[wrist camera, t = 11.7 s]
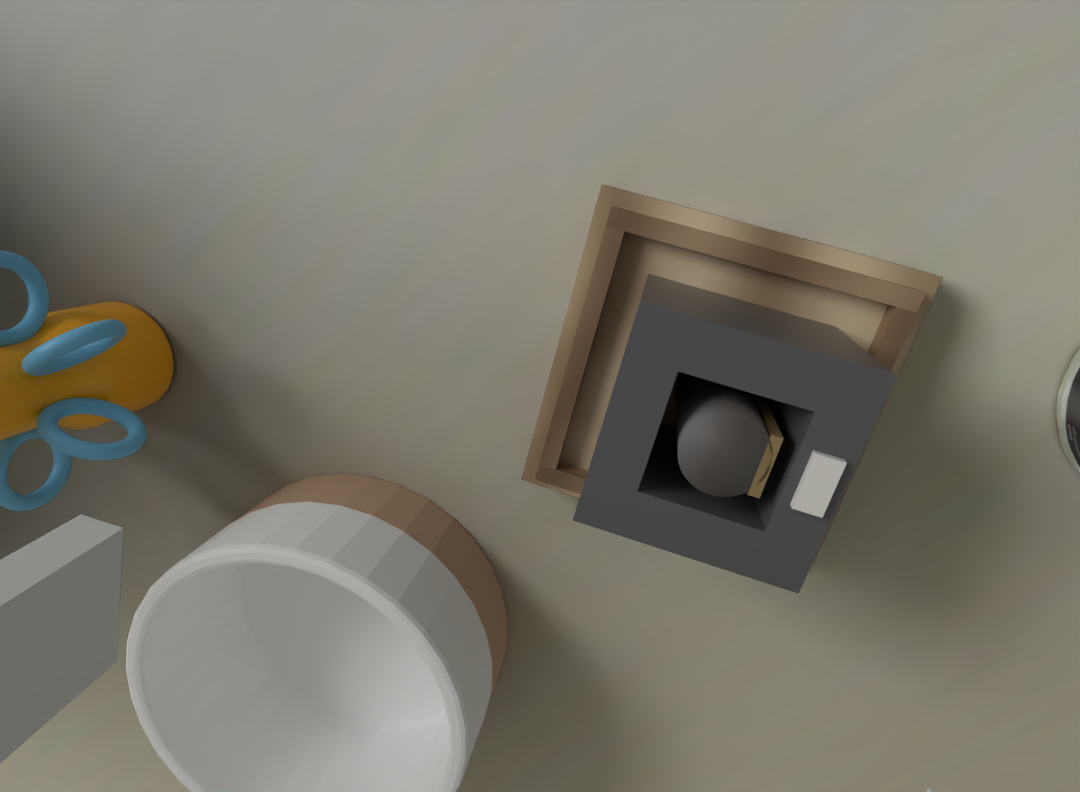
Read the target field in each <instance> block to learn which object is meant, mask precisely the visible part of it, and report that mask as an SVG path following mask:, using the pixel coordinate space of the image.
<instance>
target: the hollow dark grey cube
mask: <svg viewBox="0 0 1080 792" xmlns="http://www.w3.org/2000/svg"><path fill="white" fill-rule="evenodd" d="M678 372H682V373H685V374H688V375H692V376H695V377H699V378H702V379H705V380H709V381H712V382H715V383H719V384H722V385H726V386H729V387H732V388H736V389H739V390H742V391H746V392H749V393H753V394H756V395H759V396H763V397H765V399H766V401H767V404H768V406H769V408H770V410H771V412H772V414H773V416H774V419H775V421H776V423H777V425H778V427H779V429H780V432H781V434H782V436H783V438H784V439H783V442H782V444H781V447H780V449H779V452H778V454H777V457H776V459H775V462H774V464H773V467H772V469H771V471H770V474H769V476H768V479H767V481H766V484H765V486H764V489H763V491H762V494H761V496H760V499H759V498H756V497H753V496H750V495H747V492H746V493H744V494H741V495H737V496H732V497H718V496H713V495H709V494H706V493H704V492H702V491H700V490H698V489H697V488H695V487H694V486H693V485H692V484H691V483H689V481H688V480H687V479H686V478H685V476H684V475H683V473H682V471H681V469H680V466H679V462H678V447H677V427H674V426H671V425H667V424H664V423H661V420H662V417H663V414H664V411H665V408H666V405H667V403H668V400H669V397H670V394H671V391H672V388H673V385H674V382H675V379H676V376H677V373H678ZM896 376H897V375H896V374H895V373H893V372H892V371H891V370H890V369H888V368H887V367H886V366H885V365H883V364H882V363H881V362H879V361H878V360H877V359H876V358H874V357H873V356H872V355H871V354H869V353H868V352H867V351H866V350H864V349H863V348H862V347H861V346H859V345H858V344H857V343H856V342H854V341H853V340H852V339H851V338H849V337H848V336H847V335H846V334H844V333H843V332H842V331H841V330H839V329H838V328H837V327H835V326H832V325H828V324H825V323H821V322H818V321H814V320H811V319H807V318H803V317H800V316H796V315H793V314H789V313H786V312H782V311H779V310H775V309H772V308H768V307H765V306H761V305H758V304H754V303H750V302H747V301H743V300H740V299H736V298H733V297H729V296H726V295H722V294H719V293H715V292H712V291H708V290H705V289H701V288H697V287H694V286H690V285H687V284H683V283H680V282H676V281H673V280H669V279H666V278H662V277H659V276H655V275H652V274H648V277H647V280H646V283H645V286H644V290H643V293H642V296H641V299H640V303H639V306H638V309H637V312H636V316H635V319H634V322H633V325H632V329H631V332H630V335H629V339H628V342H627V345H626V348H625V352H624V355H623V358H622V361H621V365H620V368H619V371H618V374H617V378H616V381H615V384H614V387H613V391H612V394H611V397H610V400H609V404H608V407H607V410H606V413H605V417H604V420H603V423H602V426H601V430H600V433H599V436H598V439H597V443H596V446H595V449H594V453H593V456H592V459H591V462H590V466H589V469H588V472H587V476H586V479H585V482H584V485H583V489H582V492H581V495H580V499H579V502H578V505H577V508H576V512H575V515H574V518H573V520H574V521H577V522H580V523H583V524H586V525H589V526H592V527H595V528H599V529H602V530H605V531H608V532H611V533H614V534H617V535H620V536H623V537H626V538H629V539H632V540H635V541H639V542H642V543H645V544H648V545H651V546H654V547H657V548H660V549H663V550H666V551H669V552H672V553H676V554H679V555H682V556H685V557H688V558H691V559H694V560H697V561H700V562H703V563H706V564H709V565H712V566H716V567H719V568H722V569H725V570H728V571H731V572H734V573H737V574H740V575H743V576H746V577H749V578H753V579H756V580H759V581H762V582H765V583H768V584H771V585H774V586H777V587H780V588H783V589H786V590H790V591H793V592H796V593H799V591H800V589H801V587H802V584H803V582H804V580H805V578H806V576H807V573H808V571H809V569H810V567H811V564H812V562H813V560H814V558H815V556H816V553H817V551H818V549H819V547H820V545H821V542H822V540H823V538H824V536H825V533H826V531H827V529H828V527H829V525H830V522H831V520H832V518H833V516H834V514H835V511H836V509H837V507H838V505H839V503H840V500H841V498H842V496H843V494H844V491H845V489H846V487H847V485H848V483H849V480H850V478H851V476H852V474H853V472H854V469H855V467H856V465H857V463H858V460H859V458H860V456H861V454H862V452H863V449H864V447H865V445H866V443H867V441H868V438H869V436H870V434H871V432H872V430H873V427H874V425H875V423H876V421H877V418H878V416H879V414H880V412H881V410H882V407H883V405H884V403H885V401H886V399H887V396H888V394H889V392H890V390H891V387H892V385H893V383H894V381H895V379H896Z"/></svg>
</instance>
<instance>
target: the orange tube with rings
mask: <svg viewBox="0 0 1080 792" xmlns="http://www.w3.org/2000/svg"><path fill="white" fill-rule="evenodd" d="M0 268H5V269H9V270H12V271H13V272H15V273H16V274H18V275H19V276H20V277H21V279H22V280H23V281H24V283H25V285H26V287H27V291H28V296H29V303H28V309H27V312H26V314H25V316H24V318H23V319H22V320H21V321H20V323H18V324H17V325H16V326H14V327H13V328H10V329H7V330H0V506H2V507H4V508H6V509H9V510H13V511H28V510H32V509H36V508H38V507H41V506H43V505H44V504H46V503H48V502H49V501H50V500H52V499H53V498H54V497H55V496H56V495H57V494H58V493H59V492H60V490H61V489H62V488H63V486H64V485H65V483H66V481H67V479H68V477H69V474H70V471H71V467H72V456H73V457H77V458H81V459H87V460H114V459H119V458H123V457H126V456H129V455H131V454H133V453H135V452H136V451H138V450H139V449H140V448H141V447H142V446H143V444H144V442H145V440H146V436H147V432H146V428H145V425H144V423H143V422H142V420H141V419H140V418H139V417H138V416H137V415H136V414H134V413H133V412H135V411H137V410H140V409H142V408H145V407H147V406H149V405H152V404H154V403H155V402H157V401H158V400H159V399H160V398H161V397H162V396H163V395H164V394H165V393H166V391H167V390H168V389H169V386H170V384H171V382H172V378H173V373H174V359H173V353H172V349H171V347H170V344H169V341H168V339H167V337H166V336H165V334H164V332H163V330H162V329H161V328H160V326H159V325H158V324H157V322H156V321H155V320H153V319H152V318H151V317H150V316H149V315H148V314H147V313H145V312H144V311H142V310H141V309H139V308H137V307H134V306H133V305H130V304H126V303H123V302H117V301H107V302H101V303H95V304H90V305H84V306H79V307H74V308H68V309H63V310H58V311H52V312H48V309H49V292H48V288H47V285H46V282H45V280H44V278H43V276H42V274H41V273H40V271H39V270H38V269H37V268H36V266H35V265H34V264H32V263H31V262H30V261H29V260H27V259H26V258H24V257H23V256H21V255H18V254H16V253H13V252H9V251H3V250H0ZM112 420H113V421H115V422H117V423H119V424H120V425H122V426H123V427H124V428H125V429H126V431H127V433H128V435H127V437H126V438H124V439H123V440H120V441H117V442H112V443H94V442H88V441H84V440H80V439H77V438H75V437H72V436H70V435H68V434H67V433H65V432H64V431H63V430H61V428H65V429H73V430H83V429H90V428H94V427H97V426H100V425H102V424H105V423H107V422H110V421H112ZM33 438H40V439H43V440H44V441H45V442H46V443H47V444H48V445H50V447H51V449H52V451H53V458H54V460H53V467H52V470H51V473H50V475H49V477H48V479H47V480H46V482H45V483H44V484H43V485H42V486H41V487H40V488H39V489H38V490H36V491H34V492H32V493H30V494H26V495H21V494H17V493H16V492H14V491H13V490H12V489H11V488H10V486H9V484H8V481H7V467H8V463H9V460H10V458H11V456H12V454H13V453H14V451H15V450H16V449H17V448H18V447H19V446H20V445H21V444H22V443H24V442H25V441H27V440H30V439H33Z"/></svg>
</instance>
